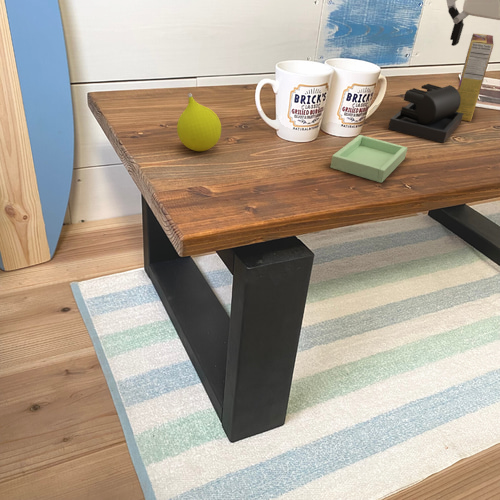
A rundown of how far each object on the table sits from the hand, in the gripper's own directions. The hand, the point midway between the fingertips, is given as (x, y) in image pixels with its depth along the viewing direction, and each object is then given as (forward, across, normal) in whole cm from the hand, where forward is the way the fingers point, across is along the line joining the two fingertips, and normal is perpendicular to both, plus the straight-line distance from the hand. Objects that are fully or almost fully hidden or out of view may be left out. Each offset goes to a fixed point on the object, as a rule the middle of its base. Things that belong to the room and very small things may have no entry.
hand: (479, 49), depth 101 cm
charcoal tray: (+13, +4, +13) cm, 19 cm away
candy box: (+13, 0, 0) cm, 13 cm away
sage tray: (+13, +6, +38) cm, 40 cm away
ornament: (+13, +31, +51) cm, 61 cm away
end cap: (+13, +4, +13) cm, 19 cm away
